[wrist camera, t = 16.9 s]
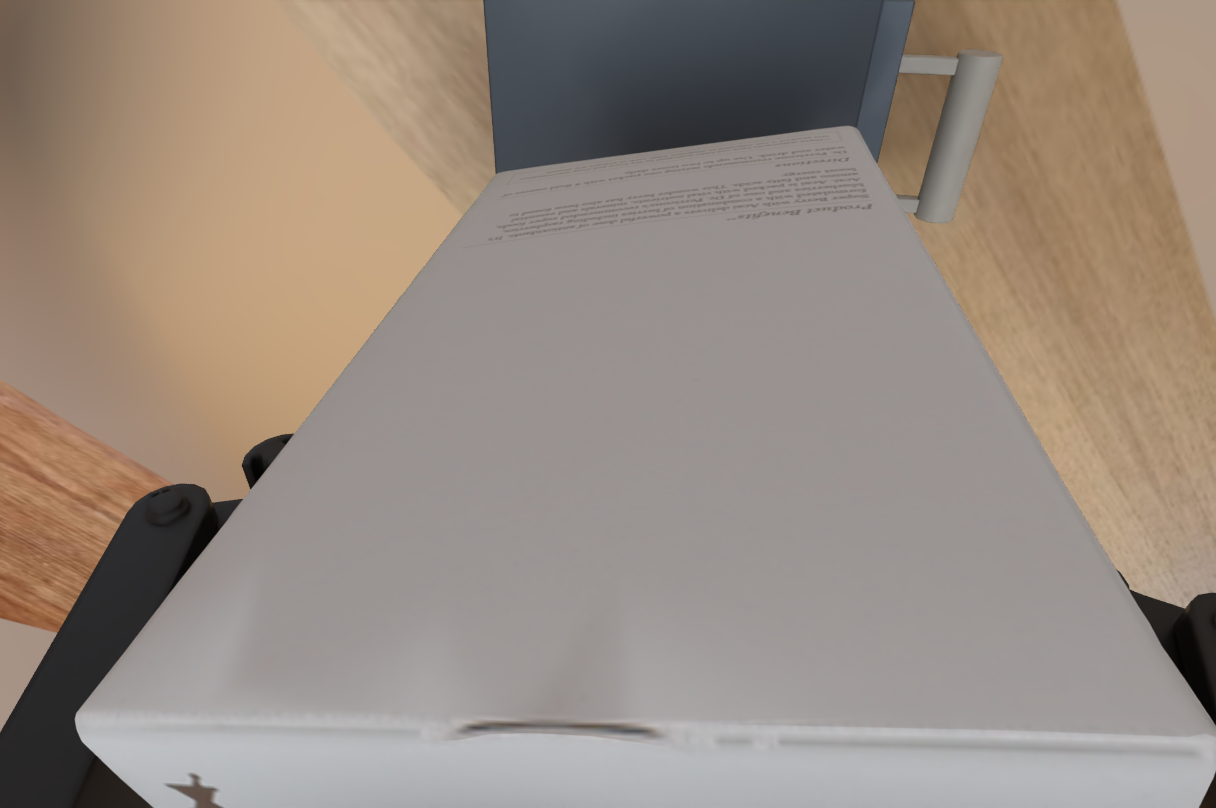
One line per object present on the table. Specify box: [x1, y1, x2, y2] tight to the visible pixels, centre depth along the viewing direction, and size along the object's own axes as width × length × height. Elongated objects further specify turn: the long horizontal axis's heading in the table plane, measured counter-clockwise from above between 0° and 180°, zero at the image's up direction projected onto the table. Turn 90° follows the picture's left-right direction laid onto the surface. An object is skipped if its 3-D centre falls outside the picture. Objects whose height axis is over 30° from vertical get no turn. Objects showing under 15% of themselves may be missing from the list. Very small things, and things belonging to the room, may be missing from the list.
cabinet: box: [483, 0, 884, 174], centre depth 31 cm, size 14×12×10 cm
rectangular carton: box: [75, 126, 1216, 808], centre depth 14 cm, size 9×9×15 cm
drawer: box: [857, 0, 1003, 224], centre depth 31 cm, size 17×10×8 cm, turn 89°
